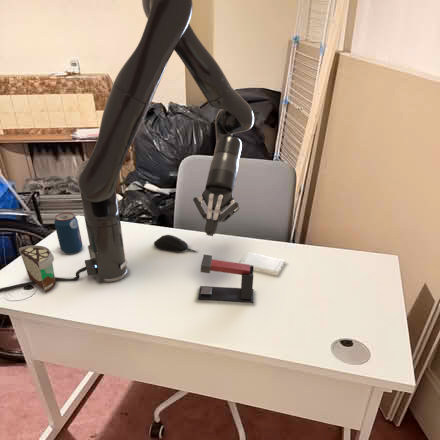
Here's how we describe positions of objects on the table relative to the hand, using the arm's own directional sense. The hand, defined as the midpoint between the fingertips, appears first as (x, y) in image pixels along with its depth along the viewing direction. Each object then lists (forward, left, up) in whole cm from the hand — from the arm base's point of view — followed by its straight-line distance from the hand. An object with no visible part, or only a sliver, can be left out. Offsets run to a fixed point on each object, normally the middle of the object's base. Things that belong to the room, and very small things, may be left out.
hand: (209, 234), depth 103 cm
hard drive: (+21, +1, -17) cm, 27 cm away
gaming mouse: (+4, +26, -17) cm, 31 cm away
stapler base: (+1, -6, -17) cm, 18 cm away
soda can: (-25, +43, -17) cm, 53 cm away
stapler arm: (+1, -6, -8) cm, 10 cm away
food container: (-37, +28, -17) cm, 50 cm away
